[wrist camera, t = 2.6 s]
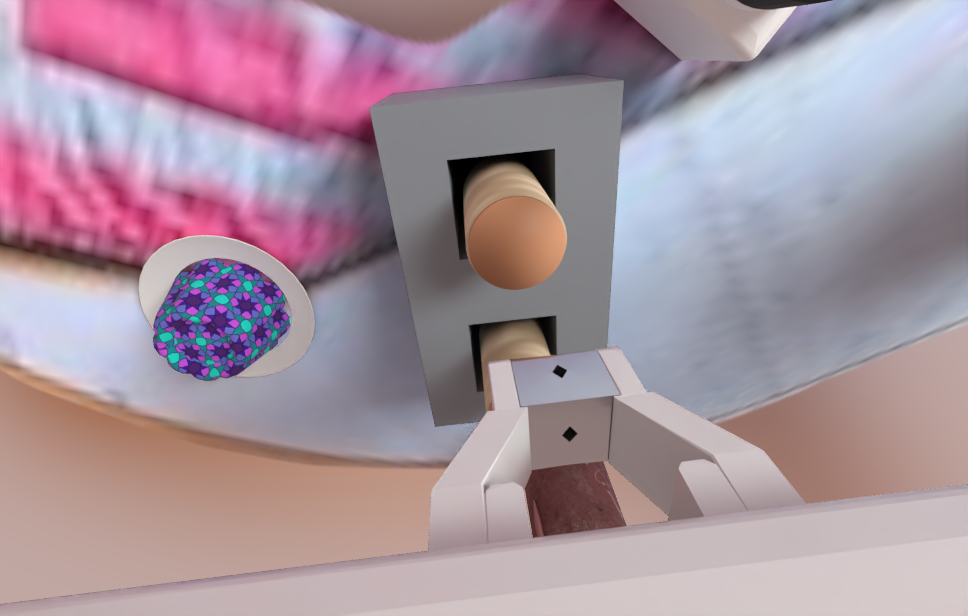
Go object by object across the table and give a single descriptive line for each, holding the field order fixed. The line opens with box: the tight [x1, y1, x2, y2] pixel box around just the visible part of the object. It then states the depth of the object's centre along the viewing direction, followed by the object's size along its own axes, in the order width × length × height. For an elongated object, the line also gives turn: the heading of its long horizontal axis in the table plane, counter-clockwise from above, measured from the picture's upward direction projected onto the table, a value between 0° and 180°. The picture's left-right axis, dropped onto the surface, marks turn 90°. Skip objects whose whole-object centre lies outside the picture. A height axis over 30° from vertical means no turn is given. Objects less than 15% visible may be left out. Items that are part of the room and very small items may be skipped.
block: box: [369, 74, 624, 427], centre depth 27 cm, size 11×19×8 cm, turn 5°
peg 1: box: [463, 155, 567, 290], centre depth 20 cm, size 4×4×8 cm
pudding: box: [138, 235, 315, 381], centre depth 30 cm, size 12×12×5 cm
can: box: [525, 461, 626, 538], centre depth 33 cm, size 6×6×14 cm
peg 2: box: [479, 318, 550, 412], centre depth 25 cm, size 4×4×8 cm
